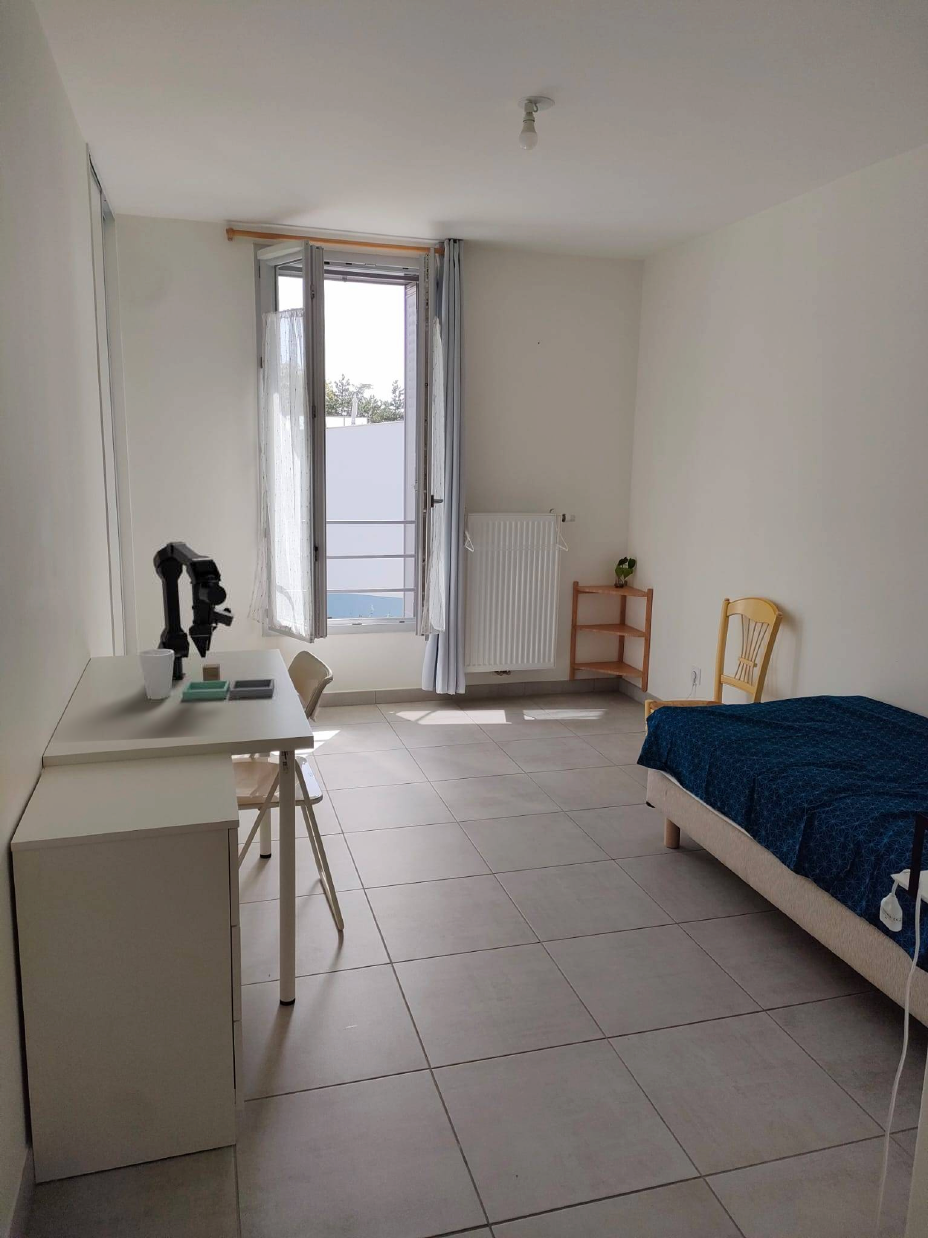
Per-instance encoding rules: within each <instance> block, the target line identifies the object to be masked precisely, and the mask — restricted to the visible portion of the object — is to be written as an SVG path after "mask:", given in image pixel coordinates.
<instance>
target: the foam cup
mask: <svg viewBox="0 0 928 1238" xmlns="http://www.w3.org/2000/svg"><path fill="white" fill-rule="evenodd" d="M138 659H139V660H138V661H139V662H140V667H141V671H142V675H143V676H142V677H143V682H144V686H145V691H146V696H147V698H148V697H149V698H148V699H150V698H151V699H150V700H161V699H162V698H163V699H166V698H165V697H167V698H169V696H170V695H172V685H173V684H172V683H173V679H172V674H173V661H174V651H173V650H169V649H157V648H154V649H147V650H143V651H140V652H139V653H138ZM170 697H171V696H170Z"/></svg>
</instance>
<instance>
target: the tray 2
mask: <svg viewBox="0 0 928 1238" xmlns="http://www.w3.org/2000/svg"><path fill="white" fill-rule="evenodd" d="M274 690H275V679H274V678H261V679H258V678H257V679H256V678H255V679H254V678H253V679H233V680H232V682H231V684H230V690H229V699H230V698H233V699H240V698H239V697H258V698H273V695H274ZM237 697H238V698H237Z"/></svg>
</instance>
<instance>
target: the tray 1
mask: <svg viewBox="0 0 928 1238" xmlns="http://www.w3.org/2000/svg"><path fill="white" fill-rule="evenodd" d="M230 687H231V680H220V681H203V680H201V681H188V682H187V684H186V685H185V686H184V689H183V690H182V701H198V700H197V699H207V700H224V698H226V697H227V698H228V696H227V695H229V694H230V692H229V690H230ZM227 698H226V699H227Z"/></svg>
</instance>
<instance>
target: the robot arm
mask: <svg viewBox="0 0 928 1238" xmlns="http://www.w3.org/2000/svg"><path fill="white" fill-rule="evenodd" d="M152 562H153V567H154V569H155V573H156V575H157V576H158V577H159V579H160V580H161V585H162V586H161V587H162V588H161V589H162V600H163V601H162V602H163V616H164V617H163V618H164V619H163V620H164V629H163V630H162V631H161V634H160V635H159V636H160V637H159V638H160V639H159V643H158V646H157V648H156V649H169V650H173V651H174V661H173V674H172V680H183V679H184V678H185V677H186V672H184V667H183V659H185V658H186V659H187V658H189V654H190V646H191V645H190V642H189V637H190V639H191V640H192V643H193V644H194V646H195V648H196V650H197V652H198V653H199V656H200V658H202V659H203V658H206V657H207V652H210V648H211V645H212V644H211V643H212V638H213V636H214V635H213V633H214V632H215V630H217V629H218V626H219V624H221V625H223V626H226V627H231V626H232V623H233V620H234V617H235V614H234V613H233V612H232V609H231V608H230V607H227V606H225V607H224V608H223V610H222V609H219V608H217V607H216V606H220V605H223V604H224V603H225V601H226V600H227V595H228V594H227V591H226V590H225V588H224V587H223V586H222V585H221V584H220V582H222V578H221V572H220V570H219V568H218V565H217V563H216V562H215V560H214V559H213V558H212V557H210V556H208V555H201V554H199V553H197V552H195V551H194V550H193V549H191V548H190V547H189V546H187V544H186V542H183V541H170V542H168V543H166V545H165V546H164V547H162V548H161V549H159V550H157V551H156V553H155V555H154V556H153V559H152ZM184 566H185V573H186V574H187V575H188V578H189V579H190V582H189V584H190V585H191V595H192V599H191V600H192V605H191V610H192V615H193V617H192V620H191V621H192V625H191V626H190V627H189V628H188V633H187V632H185V630H184V629H183V627H182V621H181V608H180V593H179V592H180V591H179V580H180V577H181V576H182V574H183V572H184V571H183V570H184Z"/></svg>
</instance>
